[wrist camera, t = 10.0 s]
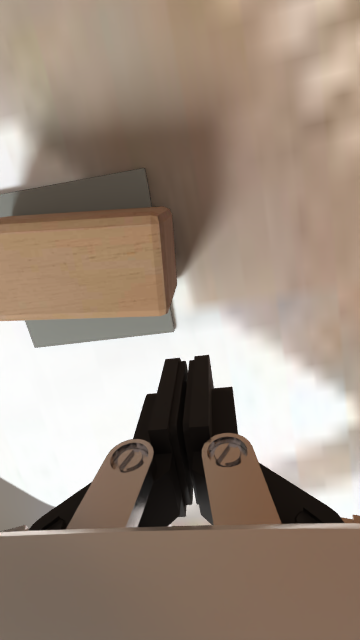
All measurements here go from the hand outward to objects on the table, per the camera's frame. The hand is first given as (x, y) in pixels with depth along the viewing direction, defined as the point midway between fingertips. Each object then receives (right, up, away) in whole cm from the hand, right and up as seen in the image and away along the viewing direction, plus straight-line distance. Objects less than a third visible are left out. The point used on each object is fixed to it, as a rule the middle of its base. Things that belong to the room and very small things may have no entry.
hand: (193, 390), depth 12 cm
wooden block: (-1, +9, +22) cm, 24 cm away
